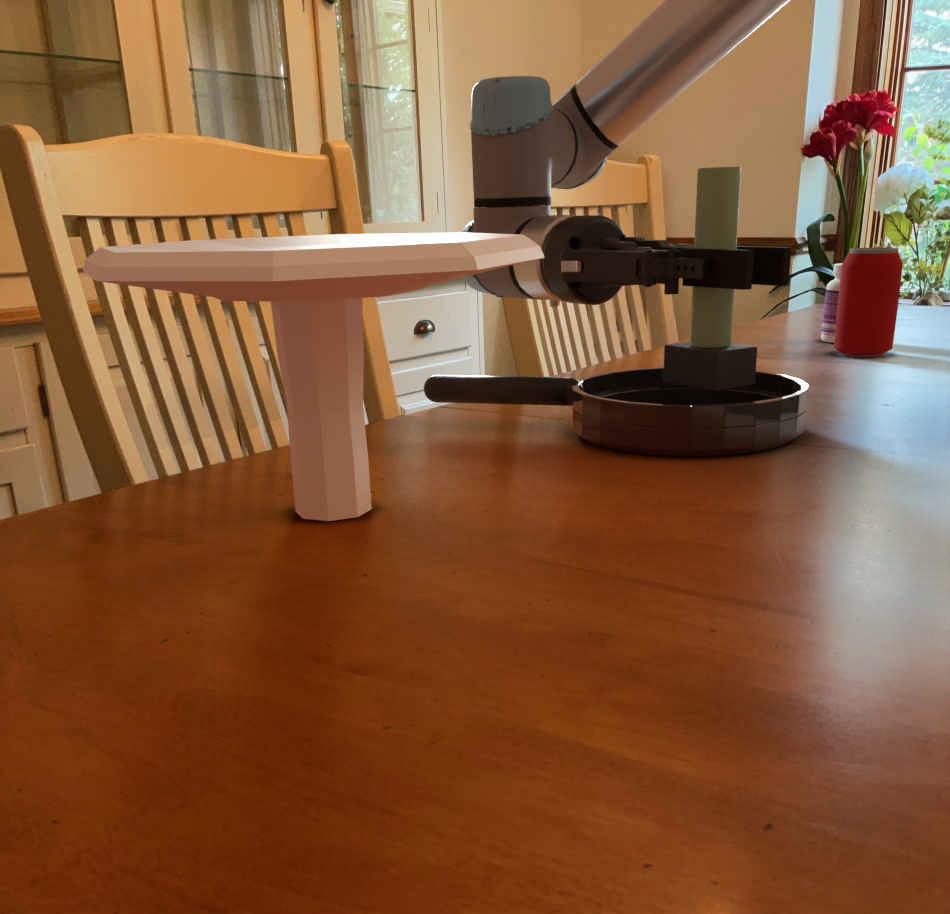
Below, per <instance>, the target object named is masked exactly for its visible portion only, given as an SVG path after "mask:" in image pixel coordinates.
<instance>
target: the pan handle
mask: <svg viewBox="0 0 950 914" xmlns="http://www.w3.org/2000/svg"><path fill="white" fill-rule="evenodd" d="M578 380H579V379H577V378H575V377H572V376H571V377H570V376H529V375H527V376H525V375H524V376H521V375H518V376H517V375H471V374H469V375H468V374H467V375H465V374H463V375H462V374H433V375H431V376H429V377H428V378H427V379H426V380H425V382H424V385H423V392H424V396H425V397H426V398H427V399H428V400H429V401H430V402H433V403H442V404H443V403H444V404H483V405H484V404H485V405H523V406H528V405H529V406H559V407H560V406H562V407H563V406H564V407H571V385H572V384H575V383H579V382H580V381H578ZM580 390H581V391H583V386H582V384H581V385H580Z"/></svg>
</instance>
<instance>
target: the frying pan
mask: <svg viewBox="0 0 950 914" xmlns="http://www.w3.org/2000/svg"><path fill="white" fill-rule="evenodd" d="M663 374H664V366H661V367H659V366H658V367H643V368H632V369H631V368H629V369H622V370H621V369H620V370H614V371H606V372H601V373H596V374H591V375H588V376H585V377H582V378H579V379H577V380H578V381H580V382H579V383H575V384H572V385H571V406H570V426H571V429H572V431H573V432H574V433H576V434H578V435H579V436H581V438H582V439H584V440H585V441H586V442H587V443H590V444H593V445H595V446H598V447H602V448H606V449H609V450H614V451H620V452H625V453H632V454H641V455H651V456H665V457H721V456H722V457H723V456H733V455H744V454H752V453H758V452H762V451H768V450H771V449H776V448H779V447H782V446H784V445H787V444H788V443H791V441H793V440H794V439H796V438H797V437H799V436H801V435H802V434H804V433H805V430H806V419H807V408H808V397H809V383H807V382H806V381H804V380H802V379H800V378H797V377H794V376H791V375H787V374H783V373H777V372H772V371H771V372H770V371H764V370H757V369H756V375H755V384H754V385H750V386H744V387H738V388H732V389H726V390H720V391H711V390H705V389H699V388H693V387H688V386H682V385H676V384H671V383H665V382H663ZM581 384H582V386H583V391H581V390H580V385H581Z"/></svg>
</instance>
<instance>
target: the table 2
mask: <svg viewBox="0 0 950 914" xmlns="http://www.w3.org/2000/svg"><path fill="white" fill-rule="evenodd" d="M541 258H545V257H544V254H543V252H542V249H541V247H540V246H539V245H538V244H536V243H535V242H533V241H532V240H531V239H529V238H528V237H526V236H525V235H518V234H495V233H472V232H462V231H455V232H454V231H449V232H445V231H444V232H390V233H389V232H388V233H387V232H386V233H385V232H383V233H336V234H335V233H333V234H332V233H331V234H309V235H308V234H307V235H286V236H262V237H261V236H259V237H235V238H234V237H232V238H211V239H210V238H209V239H207V238H206V239H193V240H190V239H189V240H178V241H164V242H163V241H162V242H152V243H150V242H149V243H137V244H136V243H135V244H123V245H111V246H110V245H109V246H100V247H98V248H97V249H96V250H95V251H94V252H92V253H91V254H89V256H88V257H86V258H85V260H84V263H83V268H82V272H83V273H84V274H85V275H87V276H88V277H89V278H91V279H92V280H94V281H95V282H99V283H100V282H101V283H109V284H113V285H121V286H127V287H128V286H129V287H137V288H144V289H150V290H158V291H166V292H172V293H180V294H185V295H186V294H187V295H195V296H201V297H209V298H214V299H216V300H219V301H222V302H263V303H265V302H266V303H267V302H270V310H271V314H272V315H271V316H272V324H273V331H274V339H275V345H276V353H277V354H276V355H277V359H278V364H279V369H280V376H281V380H282V382H281V383H282V387H283V392H284V398H285V403H286V411H287V425H288V426H287V427H288V442H289V456H290V457H289V459H290V468H291V469H290V470H291V480H292V488H293V490H292V491H293V498H294V499H293V500H294V510H295V513H297V515H298V516H299V517H300V518H301V519H303V520H312V521H313V520H314V521H322V522H332V521H339V520H347V519H354V518H359V517H361V516H362V515H364V514H366V513H368V512H369V511H371V510H373V507H372V493H371V479H370V478H371V476H370V463H369V462H370V460H369V451H368V441H367V440H368V439H367V432H366V422H365V421H366V420H365V411H364V375H365V373H364V371H365V369H364V368H365V367H364V365H365V343H364V342H365V340H364V309H363V305H364V304H363V299H367V298H382V297H390V296H395V295H399V294H404V293H409V292H415V291H419V290H422V289H425V288H427V287H430V286H432V285H435V284H440V283H444V282H448V281H452V280H457V279H461V278H462V277H465V276H469V275H474V274H478V273H482V272H486V271H491V270H495V269H499V268H503V267H507V266H512V265H516V264H520V263H524V262H529V261H533V260H537V259H541Z"/></svg>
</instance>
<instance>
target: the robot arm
mask: <svg viewBox="0 0 950 914" xmlns="http://www.w3.org/2000/svg"><path fill="white" fill-rule="evenodd" d="M788 2H790V0H663V1H662V2H661V3H660V4H659V5H658V6H656V7H655V9H653V10H652V11H651V12H650V13H649V14H648V15H647V16H646V17H645V18H644V19H642V21H640V22H639V23H638V25H637V24H636V26H635V27H634V28H633V29H632V30H631V31H629V33H628V34H627V35H626V36H624V38H622V39H621V40H620V41H619V42H618V43H617V44H616V45H615V46H614V47H612V49H611V50H609V51H608V52H607V53H606V54H605V55H604V56H602V58H600V59H599V61H597V62H596V63H595V64H594V65H593V66H592V67H591V68H590V69H589V70H588V71H587V72H586V73H584V75H583V76H581V77H580V78H579V79H578V80H576V82H575V84H573V86H572V87H570V88H569V89H568V90H566V92H564V94H562V95H561V96H560V97H559V98H558V99H556V101H555V102H554V103H552V99H551V98H552V97H551V86H550V84H549V81H548V80H547V79H546V78H545V77H541V76H535V75H508V76H496V77H489V78H483V79H480V80H478V81H477V82H476V83H475V84H474V86H473V87H472V90H471V104H470V105H471V106H470V108H471V109H470V110H471V111H470V117H471V118H470V121H469V130H470V138H471V139H470V140H471V142H470V143H471V163H472V165H471V166H472V187H473V190H472V191H473V208H472V211H473V214H472V217H473V220H471V221H470V222H468V224H467V223H466V225H465V226H464V228H463V229H462V230H461V232H472V233H495V234H518V235H525V236H526V237H528V238H529V239H531V240H532V241H533V242H535V243H536V244H538V245H539V246H540V247H541V249H542V252H543V254H544V257H545V258H541V259H537V260H533V261H529V262H524V263H520V264H516V265H512V266H507V267H503V268H499V269H495V270H491V271H486V272H482V273H478V274H474V275H469V276H465V277H461V278H462V280H463V281H464V282H465V284H466V285H467V286H469V287H470V288H471V289H473V290H474V291H477V292H479V293H483V294H488V295H491V296H495V297H496V298H510V299H526V300H538V301H539V300H540V301H549V303H548V305H549V307H550V308H553V309H556V308H559V306H560V303H561V302H564V303H568V304H575V305H576V304H577V305H585V306H586V305H587V306H598V305H602V304H605V303H606V302H608V301H610V300H611V299H613V298H614V297H615V296H616V295H617V294H618V293H619V292H620V291H621V289H622V287H624V286H626V287H627V286H628V287H629V286H644V288H651V287H652V286H656V285H657V284H659V285H664V288H663V289H664V290H663V291H664V295H668V296H669V295H678V294H679V291H680V279H682V285H681V286H682V287H693V286H694V287H709V288H724V289H734V290H741V291H746V290H752V288H753V287H752V285H754V286H755V285H757V286H758V285H759V286H773V287H788V286H789V283H790V271H791V258H792V246H762V245H761V246H758V245H756V246H755V245H754V246H753V245H752V246H751V245H742V244H740V243H737V249H698V248H694V244H693V243H692V244H690V243H680V241H673V242H671V243H669V241H668V240H666V239H647V238H646V239H645V237H644V236H626V234H625V231H623V229H622V227H621V226H620V225H619V224H618V223H617V222H616V221H615V220H613V219H612V218H610V217H608V216H606V215H605V216H604V215H597V214H595V215H592V214H591V215H590V214H589V215H588V214H587V215H575V214H552V209H551V207H552V189H557V190H573V189H576V188H579V187H581V186H584V185H586V184H588V183H590V182H591V181H594V179H596V178H597V177H598V176H599V175H600V173H601V172H602V170H603V168H604V167H605V165H606V162H607V159H608V157H609V156H610V155H611V154H613V153H614V152H615V150H617V149H618V148H619V147H620V146H621V145H623V143H624V142H626V141H627V140H629V138H631V137H632V135H634V134H636V132H638V131H639V130H640V129H641V128H643V126H645V125H646V124H647V123H648V122H649V121H651V120H652V119H653V118H654V117H655V116H656V115H657V114H659V112H661V111H662V110H663V109H664V108H666V106H668V105H669V104H670V103H671V102H673V101H674V100H675V99H676V98H677V97H678V96H679V95H681V94H682V93H683V92H684V91H685V90H687V89H688V88H689V87H690V86H691V85H692V84H694V83H695V82H696V81H697V80H698V79H699V78H701V77H702V76H703V75H705V74H706V73H707V72H708V71H709V70H711V68H713V67H714V65H716V64H717V63H718V62H719V61H720V60H722V59H723V58H725V56H726V55H728V54H729V53H730V52H731V51H733V49H734V48H736V47H737V46H738V45H740V44H741V43H742V42H743V41H744V40H745V39H746V38H748V37H749V36H750V35H751V34H752V33H754V31H756V30H757V29H758V28H759V27H760V26H762V25H763V24H764V23H765V22H766V21H767V20H768V19H770V18H771V17H772V16H773V15H775V14H776V13H777V12H778V11H779V10H780V9H781V8H782V7H784V6H785V5H786V4H788Z"/></svg>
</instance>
